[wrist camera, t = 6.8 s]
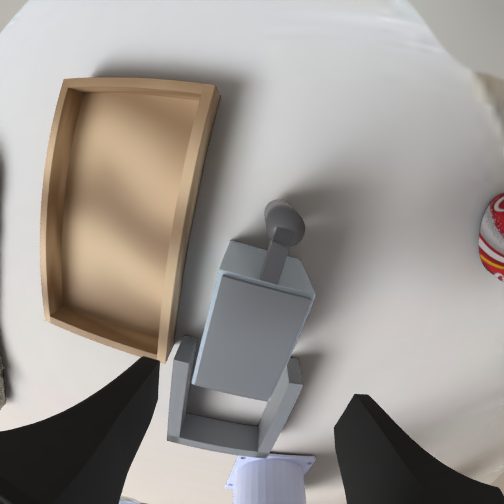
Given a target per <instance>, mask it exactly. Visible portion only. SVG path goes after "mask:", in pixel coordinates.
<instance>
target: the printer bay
mask: <svg viewBox="0 0 504 504" xmlns="http://www.w3.org/2000/svg"><path fill="white" fill-rule="evenodd" d="M196 343H197V338H193V337H189V336H185V335H184V336H183V338H182V341H181V343H180V346H179V348H178V350H177V353H176V355H175V358H174V361H173V371H172V381H171V391H170V403H169V416H168V431H167V441H171V442H175V443H179V444H183V445H187V446H191V447H196V448H200V449H205V450H210V451H215V452H221V453H227V454H233V455H239V456H247V457H254V458H263V459H267V457H268V455H269V453H270V451H271V449H272V448H273V446H274V444H275V442H276V440H277V438H278V436H279V434H280V432H281V431H282V429H283V427H284V425H285V423H286V421H287V419H288V417H289V415H290V413H291V411H292V409H293V407H294V404H295V402H296V400H297V398H298V396H299V394H300V392H301V390H302V387H303V385H304V384H303V379H302V374H301V369H300V364H299V359H298V358H291V357H290V359H289V361H288V363H287V366H286V368H285V370H284V372H283V374H282V377H281V379H280V381H279V383H278V385H277V387H276V390H275V392H274V394H273V396H272V398H271V400H270V401H268V403H267V406H266V408H265V411H264V413H263V416H262V418H261V420H260V423H259V425H258V427H257V426H250V425H243V424H237V423H232V422H226V421H221V420H216V419H211V418H206V417H202V416H197V415H193V414H189V413H186V408H187V401H188V394H189V388H190V381H191V374H192V368H193V362H194V356H195V349H196Z"/></svg>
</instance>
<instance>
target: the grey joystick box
mask: <svg viewBox="0 0 504 504" xmlns="http://www.w3.org/2000/svg"><path fill="white" fill-rule="evenodd" d="M265 221H266V227H267V233H268V236H269V238H270V243H269V247H268V250H264V249H261V248H257V247H254V246H250V245H247V244H243V243H239V242H236V241H232V240H230V243H229V245H228V248H227V250H226V253H225V256H224V258H223V261H222V263H221V266H220V269H219V272H218V276H217V280H216V284H215V288H214V292H213V296H212V300H211V304H210V308H209V312H208V316H207V320H206V324H205V328H204V332H203V336H202V340H201V344H200V349H199V353H198V357H197V361H196V366H195V370H194V374H193V378H192V383H191V384H195V385H197V386H200V387H204V388H208V389H212V390H216V391H220V392H224V393H228V394H233V395H237V396H242V397H247V398H251V399H257V400H262V401H267V402H268V401H270V400H271V398H272V396H273V394H274V392H275V390H276V387H277V385H278V383H279V381H280V379H281V377H282V374H283V372H284V370H285V368H286V366H287V363H288V361H289V359H290V357H291V354H292V352H293V350H294V348H295V345H296V343H297V341H298V338H299V336H300V333H301V331H302V329H303V326H304V324H305V321H306V319H307V317H308V314H309V312H310V309H311V307H312V304H313V302H314V299H315V297H316V293H315V291H314V289H313V287H312V285H311V282H310V280H309V278H308V276H307V274H306V271H305V269H304V267H303V265H302V263H301V261H300V259H297V258H293V257H289V256H287V255H288V252H289V249H290V247H291V246H294V245H296V244H297V243H299V242H300V241H301V239H302V238H303V236H304V232H305V224H304V221H303V219H302V218H301V216H300V215H299V214H298V213H297V212H296V211H295V210H294V209H293V208H292V207H291V206H290V205H289V204H288V203H287V202H286V201H284V200H279V199H278V200H273V201H271V202H270V203H269V204H268V205H267V206H266V208H265Z"/></svg>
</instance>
